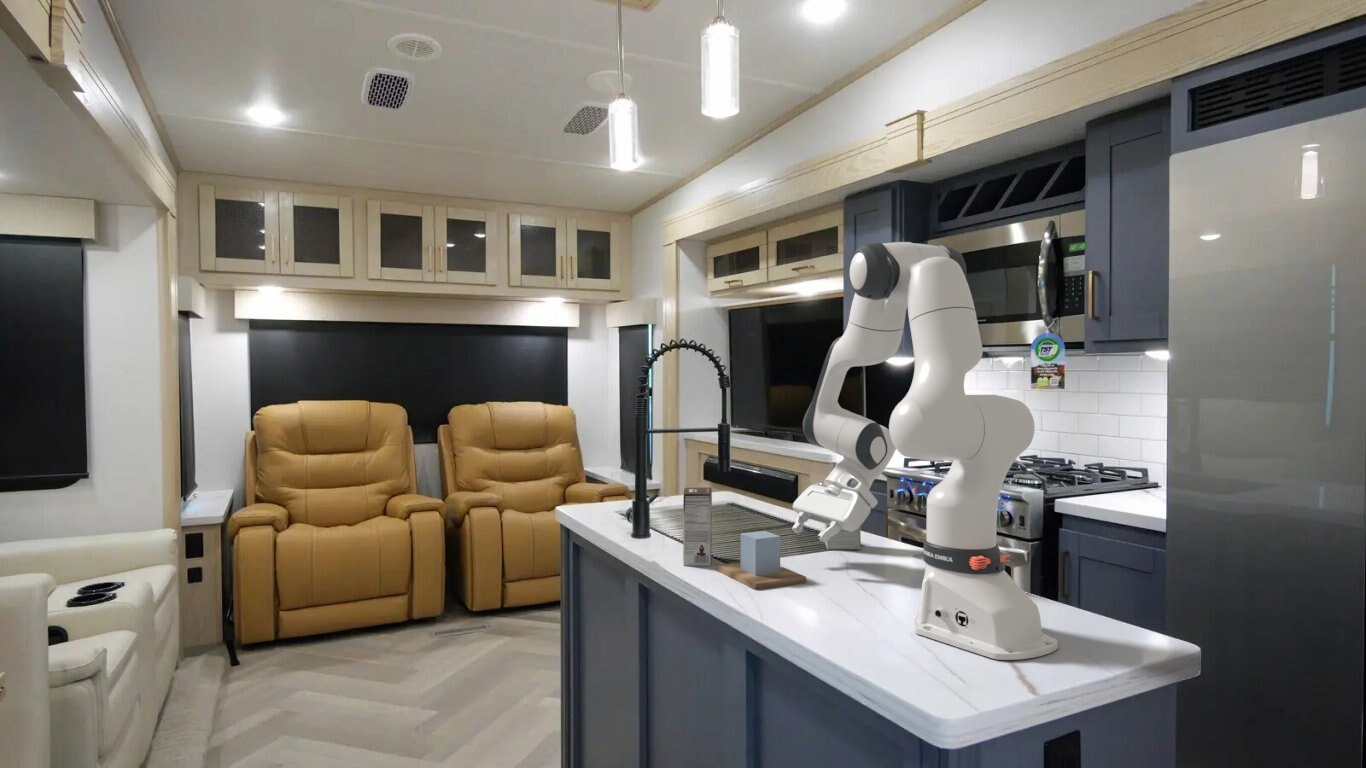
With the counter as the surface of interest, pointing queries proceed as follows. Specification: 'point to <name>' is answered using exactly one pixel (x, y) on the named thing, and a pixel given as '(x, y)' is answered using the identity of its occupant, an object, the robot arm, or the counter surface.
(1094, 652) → the counter surface
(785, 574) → the post base
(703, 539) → the coffee box
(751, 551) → the pale blue cube
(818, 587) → the counter surface
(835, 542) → the skincare box
